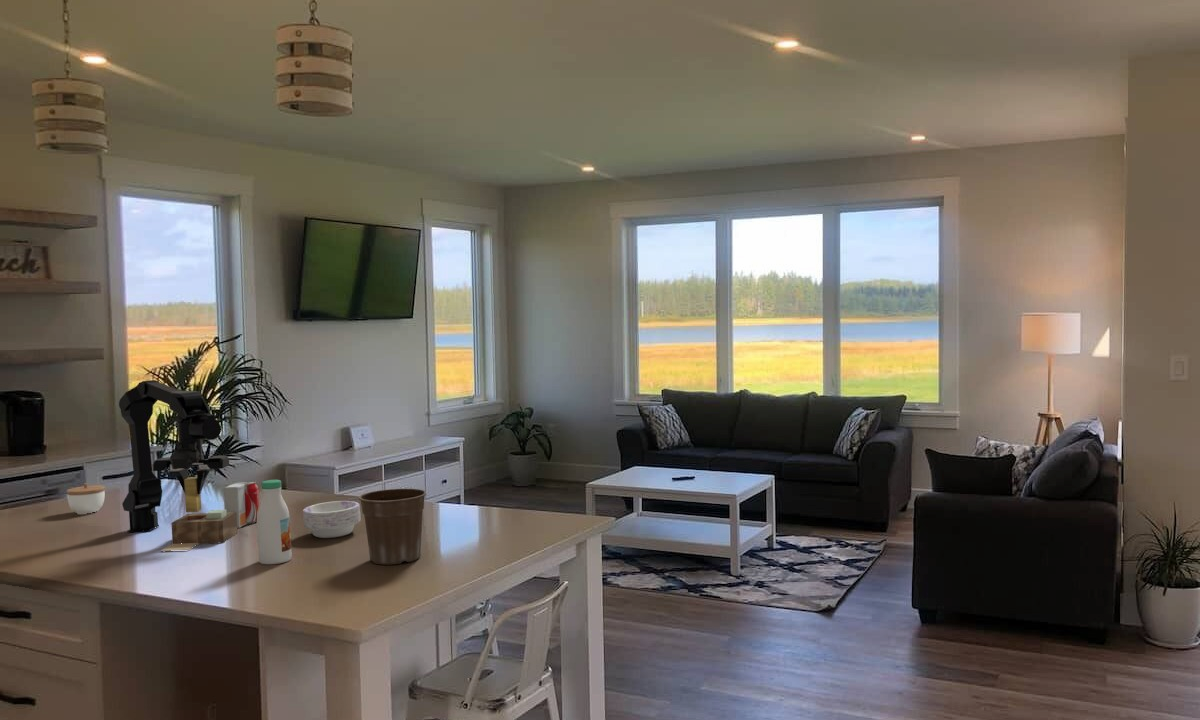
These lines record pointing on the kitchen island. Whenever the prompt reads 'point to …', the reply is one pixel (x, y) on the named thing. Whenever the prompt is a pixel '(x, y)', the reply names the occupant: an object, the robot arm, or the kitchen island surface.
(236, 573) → the kitchen island surface
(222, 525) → the block
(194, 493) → the square wooden peg
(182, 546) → the pad
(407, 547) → the plant pot
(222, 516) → the on button
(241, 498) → the skincare box
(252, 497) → the soda can
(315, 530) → the paper bowls
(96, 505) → the lidded jar
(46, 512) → the kitchen island surface
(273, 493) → the milk bottle
